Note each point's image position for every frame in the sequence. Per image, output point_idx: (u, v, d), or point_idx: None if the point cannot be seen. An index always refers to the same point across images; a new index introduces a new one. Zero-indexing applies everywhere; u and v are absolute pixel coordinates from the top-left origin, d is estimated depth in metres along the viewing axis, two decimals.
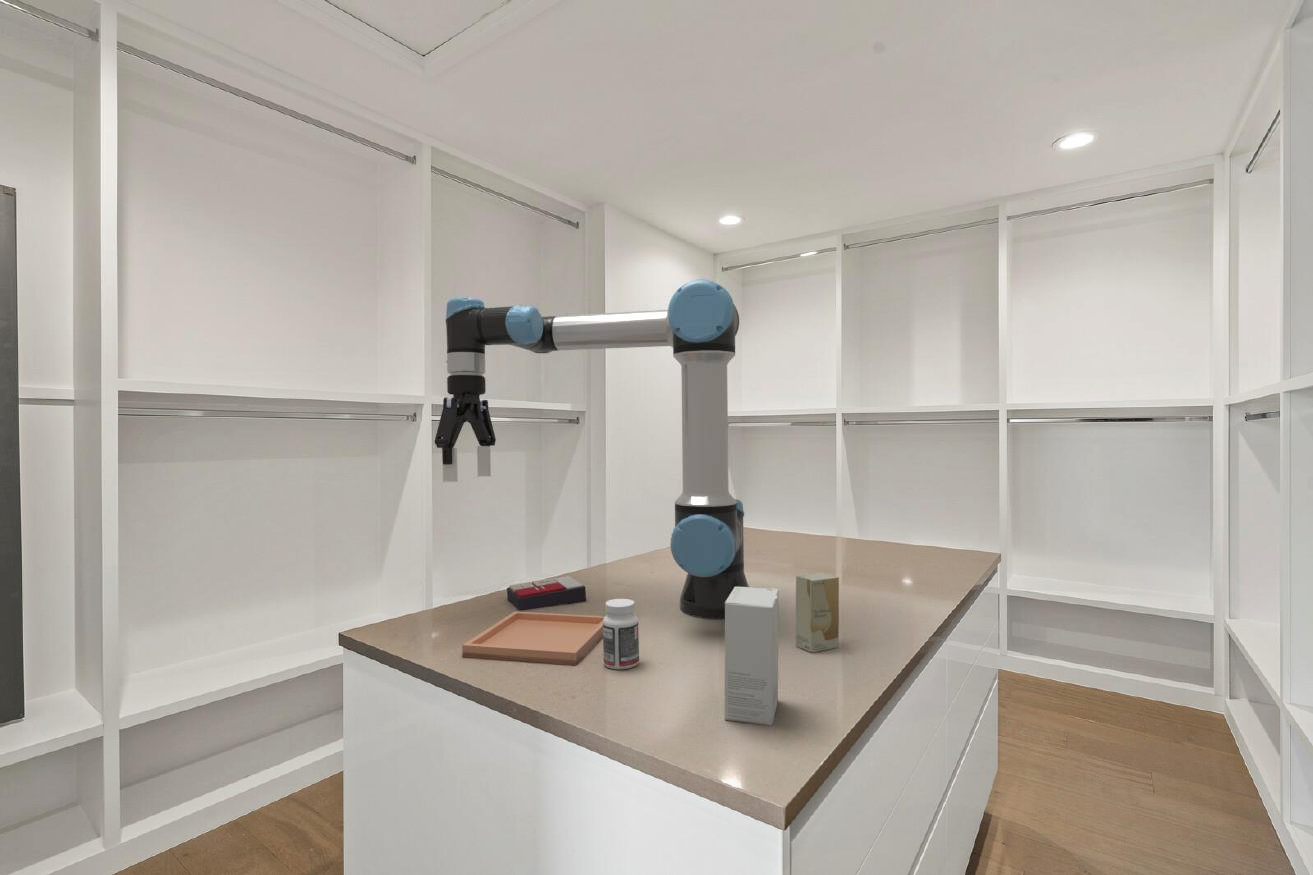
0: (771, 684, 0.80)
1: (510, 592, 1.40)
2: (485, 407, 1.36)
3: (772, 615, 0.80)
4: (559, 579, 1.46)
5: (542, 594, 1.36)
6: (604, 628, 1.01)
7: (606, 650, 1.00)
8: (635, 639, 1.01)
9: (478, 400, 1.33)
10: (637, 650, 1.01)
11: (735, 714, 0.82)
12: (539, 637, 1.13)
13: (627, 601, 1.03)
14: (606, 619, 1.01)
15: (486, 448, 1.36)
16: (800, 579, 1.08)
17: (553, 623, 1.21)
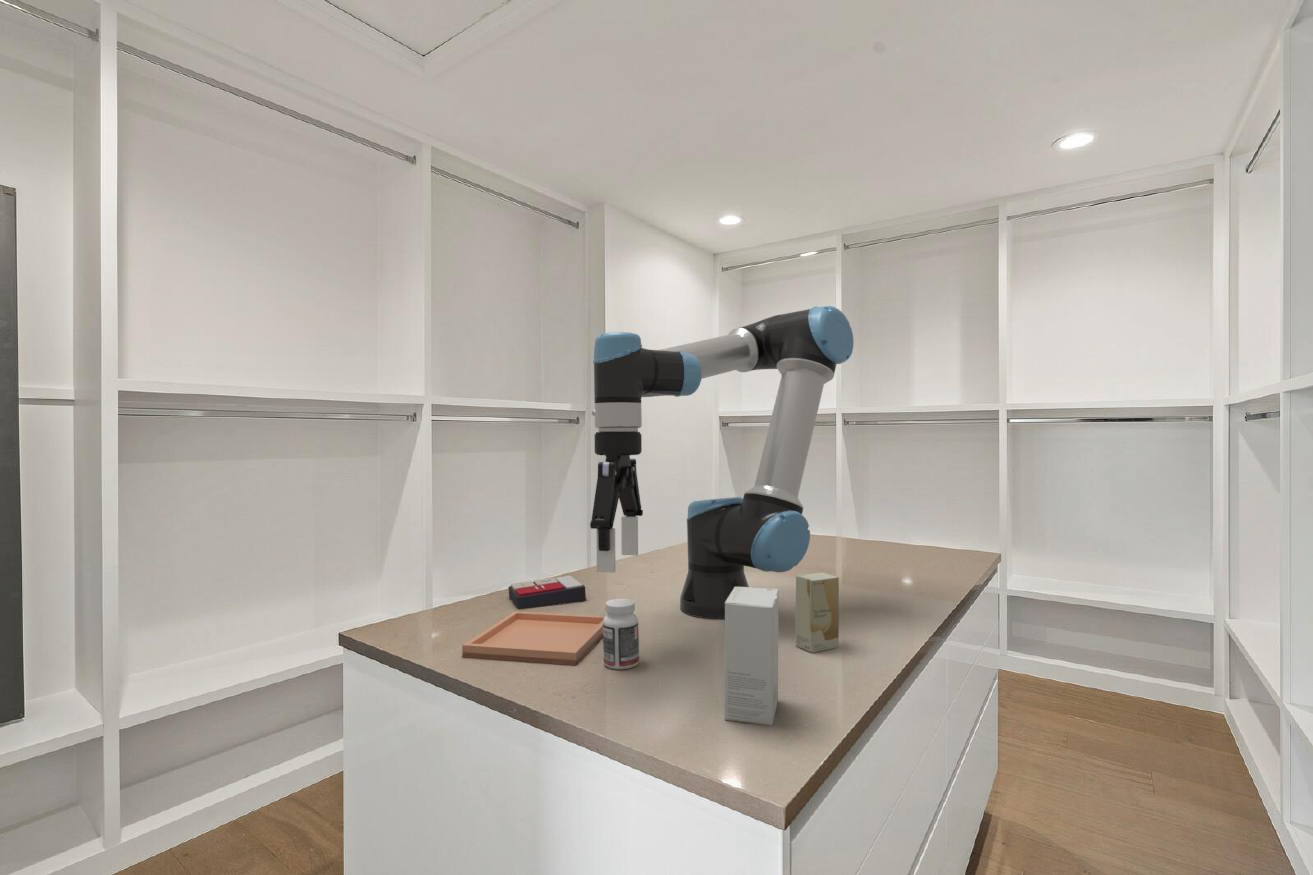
0: (771, 684, 0.80)
1: (511, 591, 1.41)
2: (634, 468, 1.07)
3: (772, 615, 0.80)
4: (560, 578, 1.47)
5: (541, 593, 1.36)
6: (604, 628, 1.01)
7: (606, 650, 1.00)
8: (635, 639, 1.01)
9: (629, 461, 1.04)
10: (637, 650, 1.01)
11: (735, 714, 0.82)
12: (539, 637, 1.13)
13: (627, 601, 1.03)
14: (606, 619, 1.01)
15: (633, 520, 1.08)
16: (800, 579, 1.08)
17: (553, 623, 1.21)
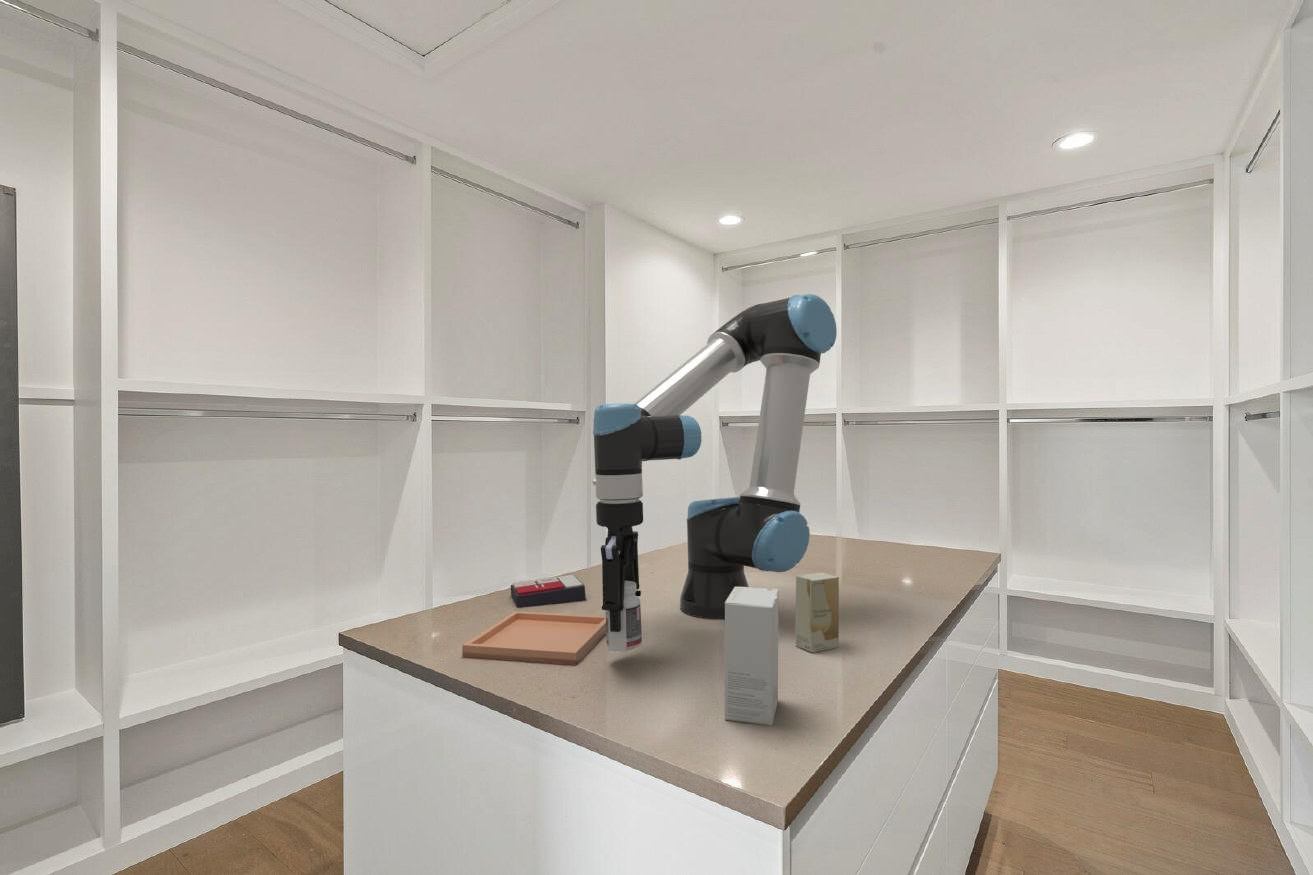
0: (771, 684, 0.80)
1: (512, 589, 1.42)
2: (635, 540, 1.07)
3: (772, 615, 0.80)
4: (562, 578, 1.47)
5: (540, 592, 1.37)
6: (606, 610, 1.01)
7: None
8: (637, 620, 1.01)
9: (631, 528, 1.05)
10: (640, 631, 1.01)
11: (735, 714, 0.82)
12: (539, 637, 1.13)
13: (629, 583, 1.03)
14: None
15: None
16: (800, 579, 1.08)
17: (553, 623, 1.21)
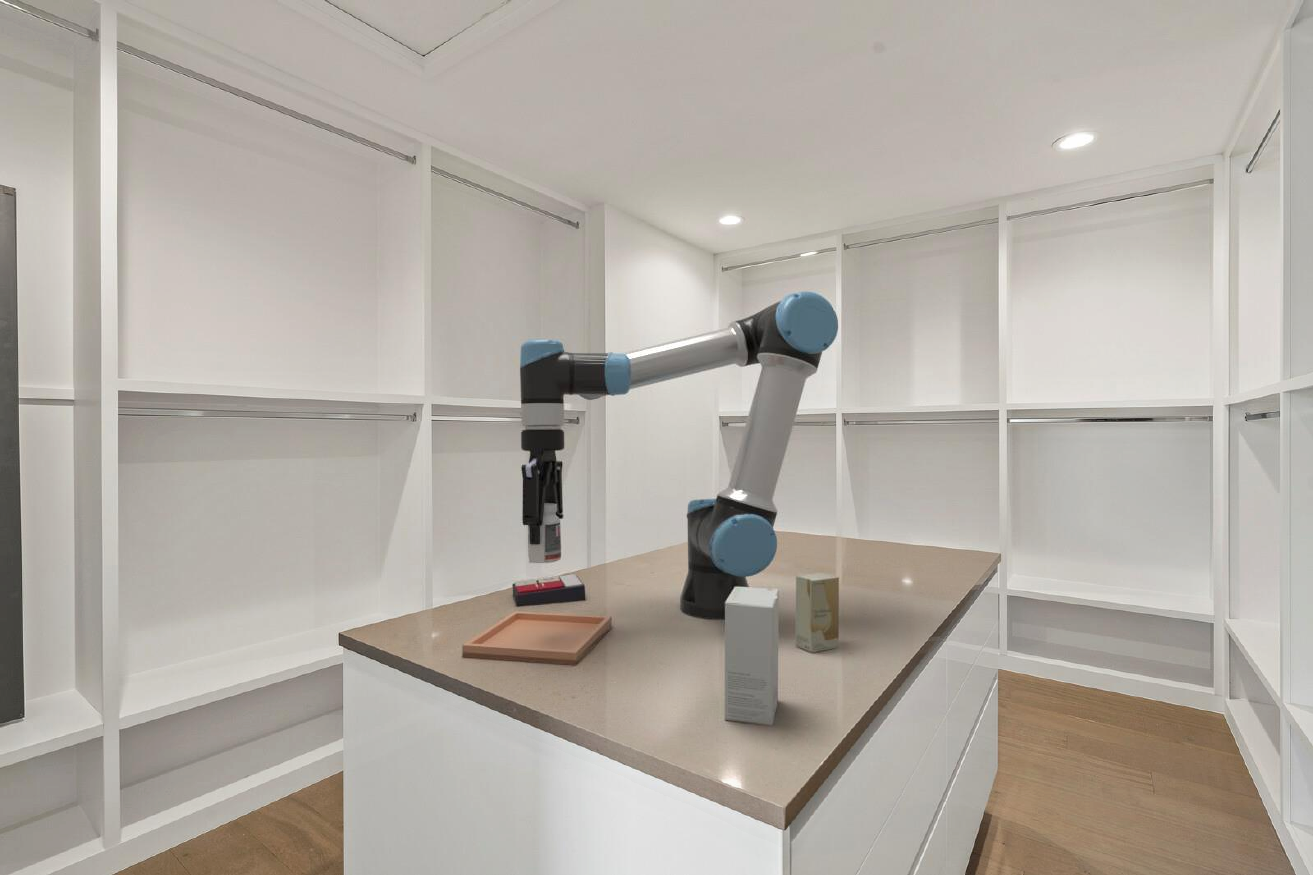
0: (771, 684, 0.80)
1: (513, 588, 1.43)
2: (559, 468, 1.18)
3: (772, 615, 0.80)
4: (564, 577, 1.48)
5: (540, 591, 1.38)
6: (528, 527, 1.11)
7: None
8: (556, 536, 1.11)
9: (555, 456, 1.15)
10: (558, 547, 1.12)
11: (735, 714, 0.82)
12: (539, 637, 1.13)
13: (550, 504, 1.13)
14: None
15: None
16: (800, 579, 1.08)
17: (553, 623, 1.21)
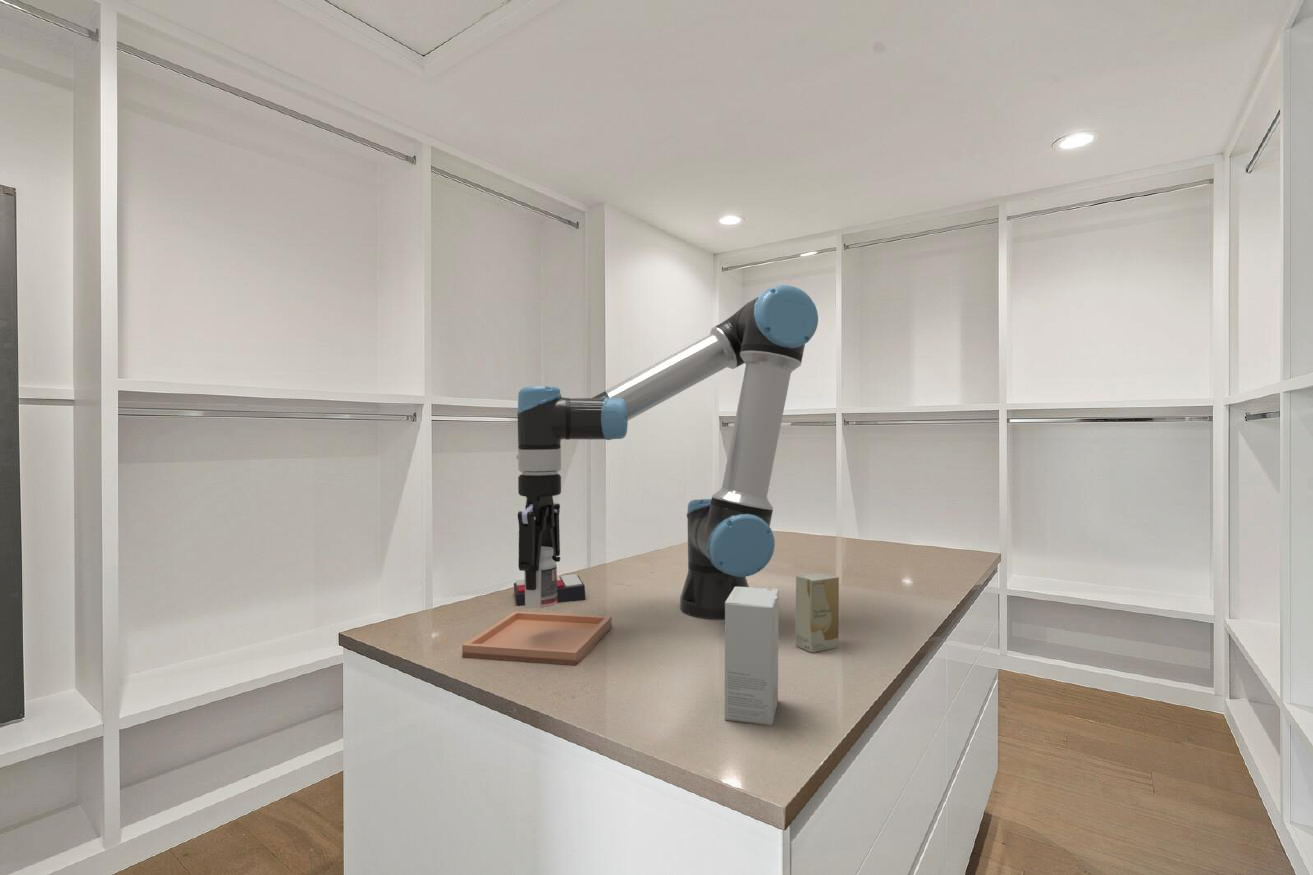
0: (771, 684, 0.80)
1: (514, 587, 1.44)
2: (556, 511, 1.18)
3: (772, 615, 0.80)
4: (565, 577, 1.48)
5: None
6: None
7: None
8: (552, 581, 1.12)
9: (552, 499, 1.16)
10: (555, 591, 1.13)
11: (735, 714, 0.82)
12: (539, 637, 1.13)
13: (547, 548, 1.14)
14: None
15: None
16: (800, 579, 1.08)
17: (553, 623, 1.21)
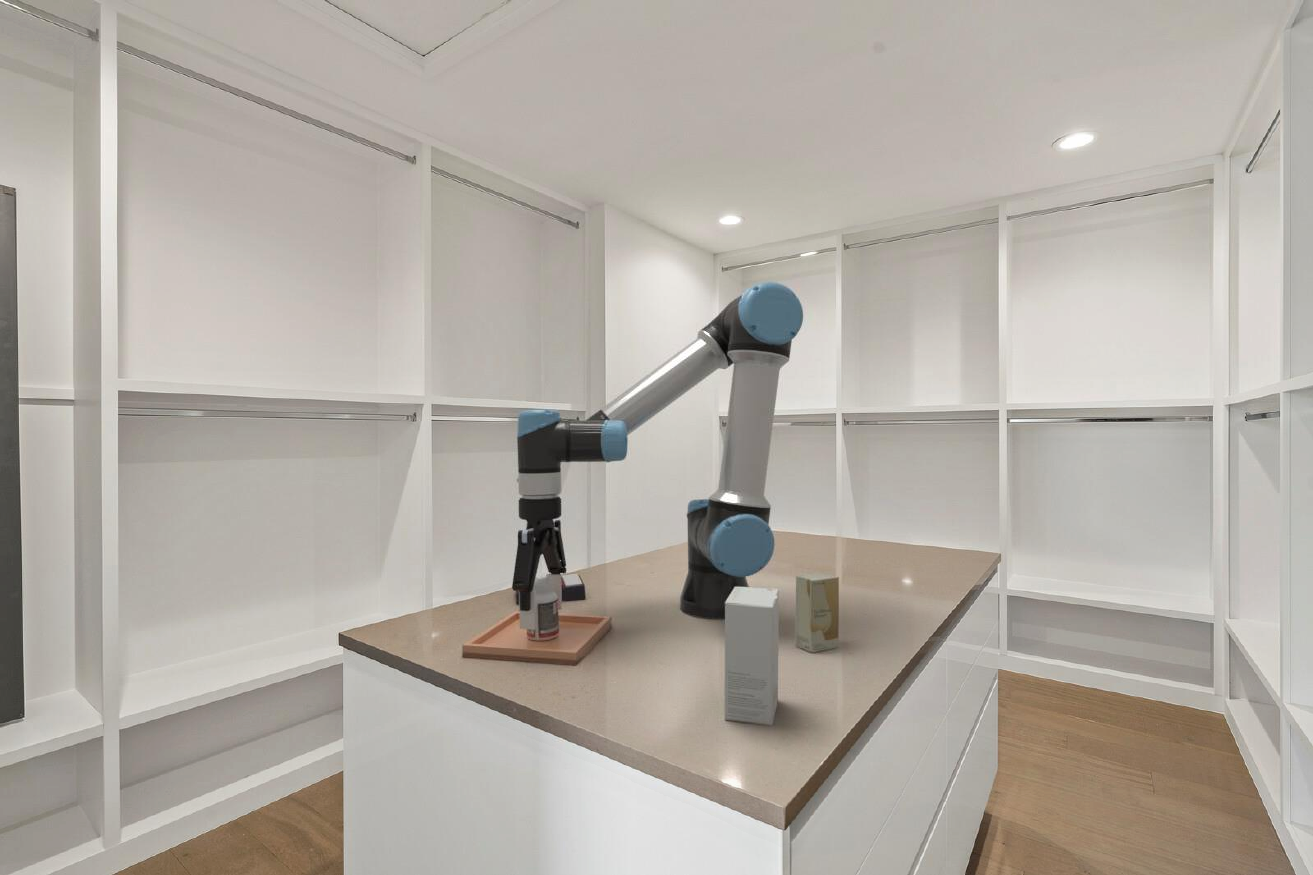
0: (771, 684, 0.80)
1: None
2: (558, 529, 1.19)
3: (772, 615, 0.80)
4: (566, 576, 1.49)
5: None
6: None
7: None
8: (553, 614, 1.12)
9: (552, 522, 1.16)
10: (556, 624, 1.13)
11: (735, 714, 0.82)
12: None
13: (548, 580, 1.14)
14: None
15: (557, 577, 1.19)
16: (800, 579, 1.08)
17: None
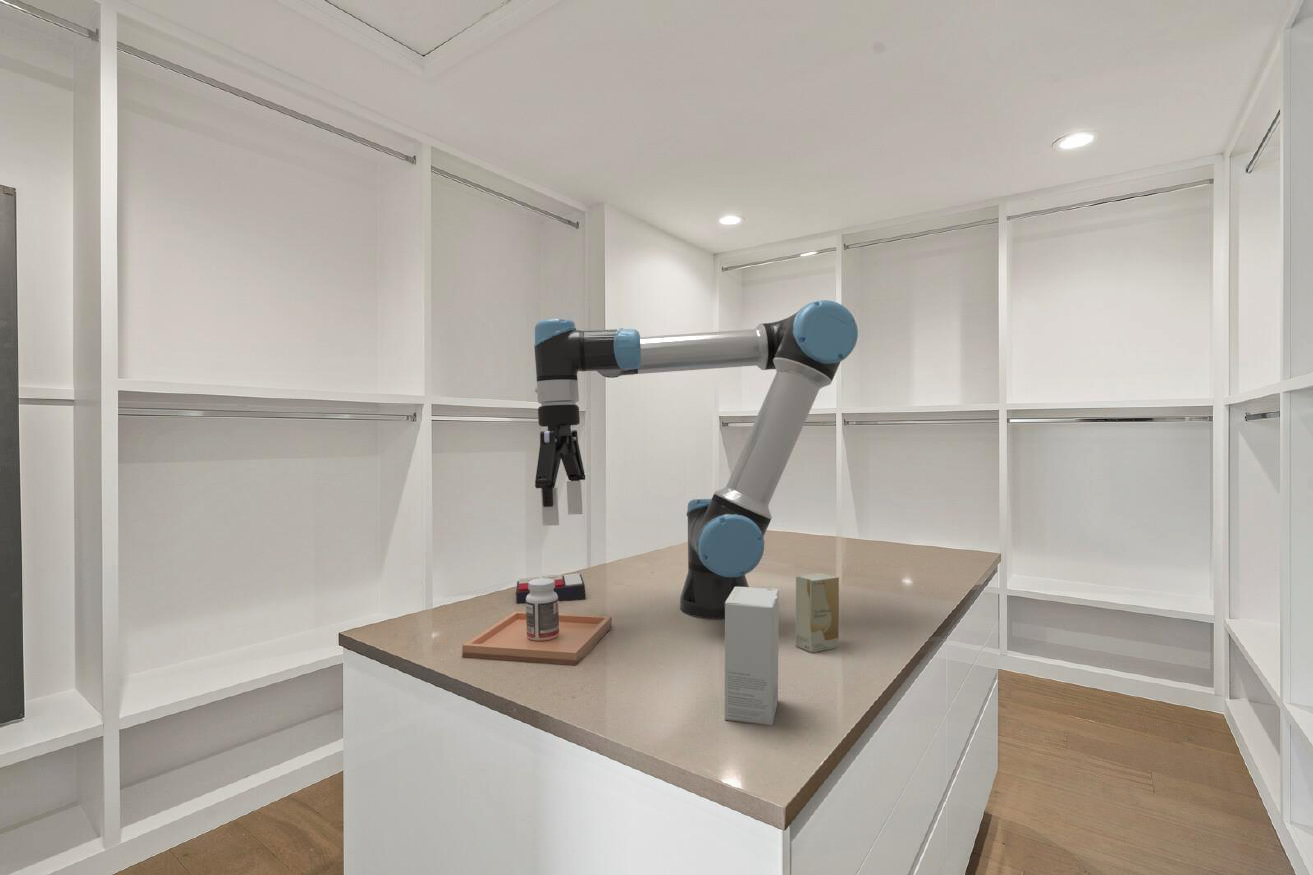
0: (771, 684, 0.80)
1: None
2: (575, 438, 1.23)
3: (772, 615, 0.80)
4: (567, 576, 1.49)
5: None
6: (526, 604, 1.12)
7: (528, 623, 1.12)
8: (554, 614, 1.12)
9: (570, 431, 1.20)
10: (556, 624, 1.13)
11: (735, 714, 0.82)
12: None
13: (548, 580, 1.14)
14: (528, 596, 1.12)
15: (577, 483, 1.24)
16: (800, 579, 1.08)
17: None
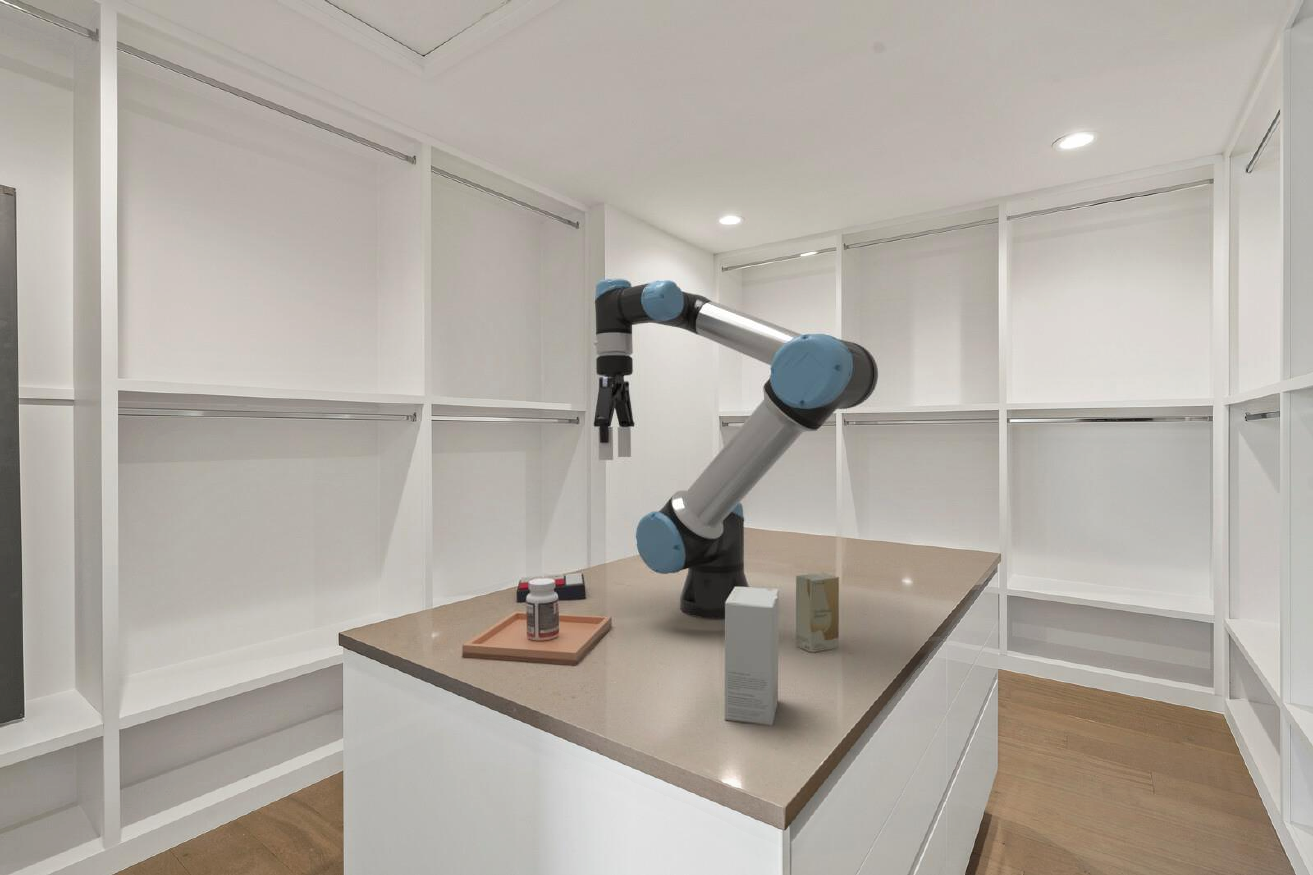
0: (771, 684, 0.80)
1: None
2: (627, 388, 1.37)
3: (772, 615, 0.80)
4: (569, 575, 1.50)
5: None
6: (526, 604, 1.12)
7: (528, 623, 1.12)
8: (554, 614, 1.12)
9: (623, 381, 1.34)
10: (556, 624, 1.13)
11: (735, 714, 0.82)
12: None
13: (548, 580, 1.14)
14: (528, 596, 1.12)
15: (627, 429, 1.38)
16: (800, 579, 1.08)
17: None
